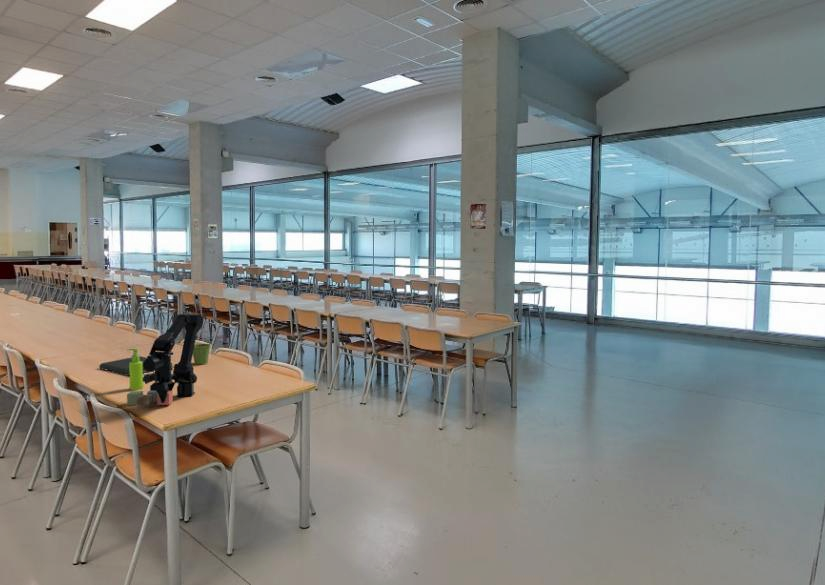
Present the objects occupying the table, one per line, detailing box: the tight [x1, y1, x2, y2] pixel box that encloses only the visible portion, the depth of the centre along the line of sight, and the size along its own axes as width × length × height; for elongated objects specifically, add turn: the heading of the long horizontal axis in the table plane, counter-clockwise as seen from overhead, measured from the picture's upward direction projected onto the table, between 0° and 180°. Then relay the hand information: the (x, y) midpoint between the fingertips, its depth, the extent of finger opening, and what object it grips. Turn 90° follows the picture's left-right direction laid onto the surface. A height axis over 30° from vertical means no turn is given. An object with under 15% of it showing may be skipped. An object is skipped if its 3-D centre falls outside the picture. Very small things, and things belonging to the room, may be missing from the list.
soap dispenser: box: [126, 347, 144, 391], centre depth 266 cm, size 6×7×20 cm
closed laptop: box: [99, 355, 173, 376], centre depth 309 cm, size 33×4×24 cm
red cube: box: [156, 390, 174, 406], centre depth 240 cm, size 5×5×5 cm
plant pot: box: [192, 343, 212, 365], centre depth 323 cm, size 12×12×11 cm
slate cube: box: [146, 389, 158, 402], centre depth 246 cm, size 5×5×5 cm
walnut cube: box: [136, 394, 154, 410], centre depth 237 cm, size 5×5×5 cm
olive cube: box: [126, 390, 144, 406], centre depth 242 cm, size 5×5×5 cm
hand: (165, 400), depth 241 cm, fingers closed on red cube, 5 cm apart
